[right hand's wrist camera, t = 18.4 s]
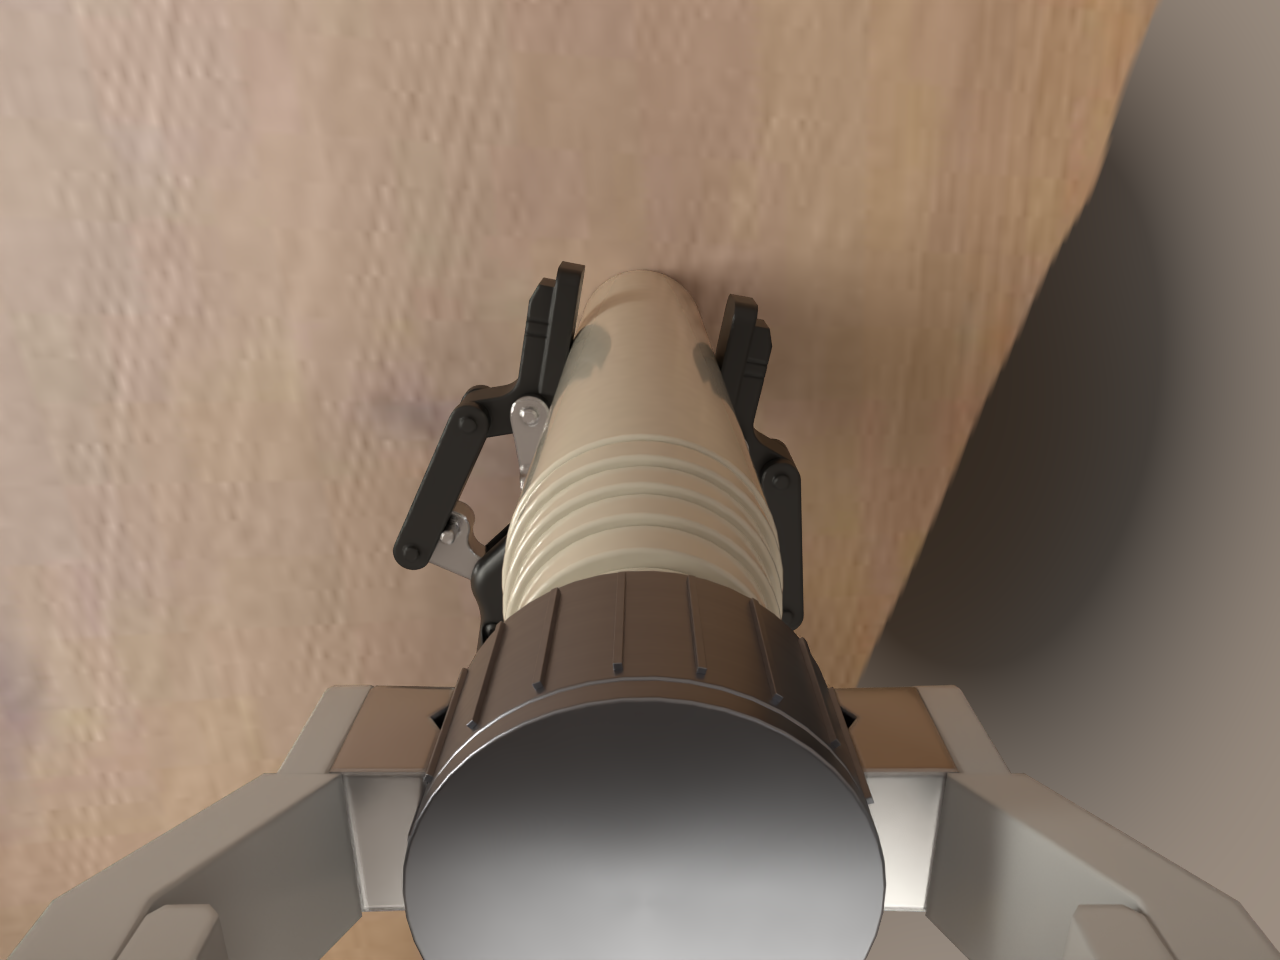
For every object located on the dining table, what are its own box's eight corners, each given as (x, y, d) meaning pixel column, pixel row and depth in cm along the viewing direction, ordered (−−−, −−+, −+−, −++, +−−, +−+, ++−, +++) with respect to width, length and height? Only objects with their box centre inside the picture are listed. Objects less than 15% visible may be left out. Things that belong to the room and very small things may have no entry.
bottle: (590, 398, 34) (463, 1043, 10) (571, 278, 32) (357, 686, 8) (708, 382, 34) (887, 1001, 9) (694, 261, 32) (868, 625, 8)
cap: (900, 628, 10) (978, 772, 8) (757, 923, 11) (786, 1116, 9) (506, 514, 9) (464, 631, 7) (412, 839, 11) (353, 1019, 9)
